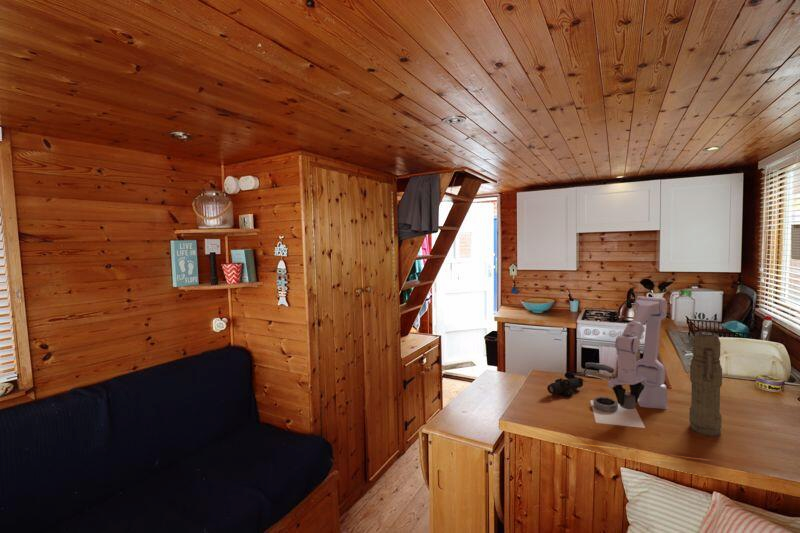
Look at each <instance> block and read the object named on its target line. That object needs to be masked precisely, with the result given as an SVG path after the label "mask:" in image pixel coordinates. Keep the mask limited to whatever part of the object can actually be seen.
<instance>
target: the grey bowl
mask: <svg viewBox="0 0 800 533" xmlns="http://www.w3.org/2000/svg"><path fill="white" fill-rule="evenodd" d="M592 400H593V404H594V408H595V409H597V410H599V411H602V412H609V413H611V412H616V411H617V409H618V401H617V399H616V400H615V399H614V398H611V397H608V396H607V397H606V396H597V397H594V398H593V399H592Z"/></svg>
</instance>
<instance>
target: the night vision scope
mask: <svg viewBox="0 0 800 533" xmlns="http://www.w3.org/2000/svg"><path fill="white" fill-rule="evenodd" d="M564 378H565V379H563V378H558V379H556V380H554V382H551V383H550V384H549V385H548V386H547V387H546V388H547V391H548V393H549V394H552V395H558V394H562V395H564V397H565V398H567V397H571V396H573V395H574V394H575V391H574V390H577V389H579V388H582V387H583V385H584V382H586V380H584V378H582V377H578V376H576V375H575V374H574V373H573V372H570V371H569V372H567V371H566V372H565V373H564Z"/></svg>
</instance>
